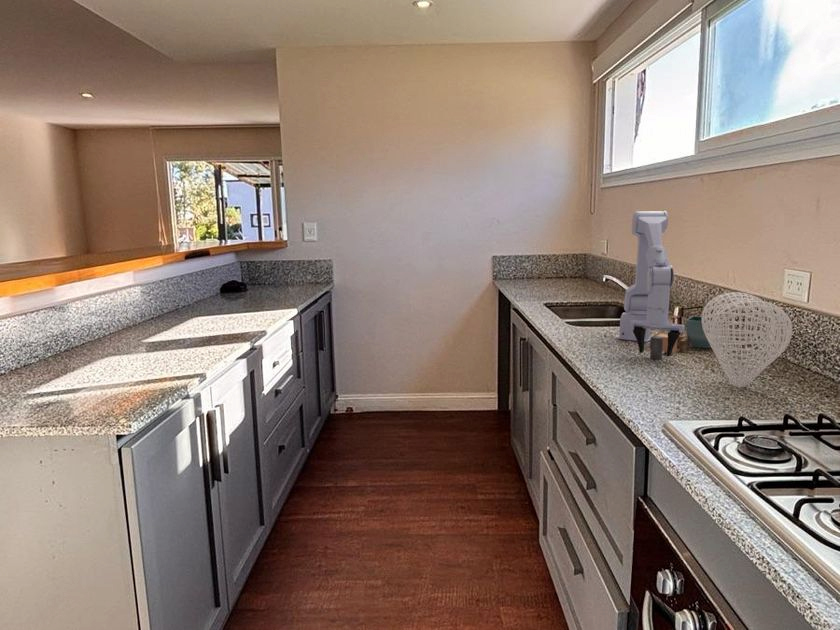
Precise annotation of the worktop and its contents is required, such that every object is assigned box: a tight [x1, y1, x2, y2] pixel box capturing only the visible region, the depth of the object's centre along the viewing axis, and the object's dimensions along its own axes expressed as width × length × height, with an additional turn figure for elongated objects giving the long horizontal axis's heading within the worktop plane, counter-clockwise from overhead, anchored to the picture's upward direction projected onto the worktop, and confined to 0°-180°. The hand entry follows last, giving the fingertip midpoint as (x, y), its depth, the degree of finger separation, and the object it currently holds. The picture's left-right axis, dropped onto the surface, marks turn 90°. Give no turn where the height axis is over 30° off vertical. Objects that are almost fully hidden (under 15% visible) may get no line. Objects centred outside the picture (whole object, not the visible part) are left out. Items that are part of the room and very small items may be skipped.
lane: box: [649, 333, 691, 353], centre depth 179 cm, size 10×8×4 cm
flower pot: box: [685, 315, 720, 349], centre depth 181 cm, size 9×9×9 cm
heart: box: [701, 291, 793, 389], centre depth 135 cm, size 28×16×22 cm, turn 164°
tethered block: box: [649, 333, 678, 360], centre depth 171 cm, size 5×14×6 cm, turn 142°
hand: (655, 353), depth 166 cm, fingers open, 7 cm apart
